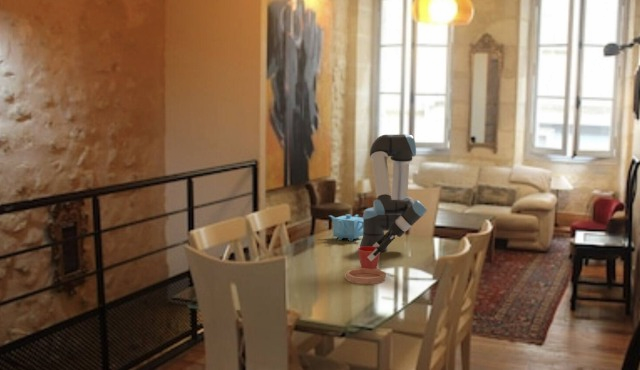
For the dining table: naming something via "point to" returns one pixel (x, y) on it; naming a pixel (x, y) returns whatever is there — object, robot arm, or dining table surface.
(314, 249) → the dining table surface
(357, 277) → the terracotta saucer
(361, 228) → the teakettle
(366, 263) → the flower pot
